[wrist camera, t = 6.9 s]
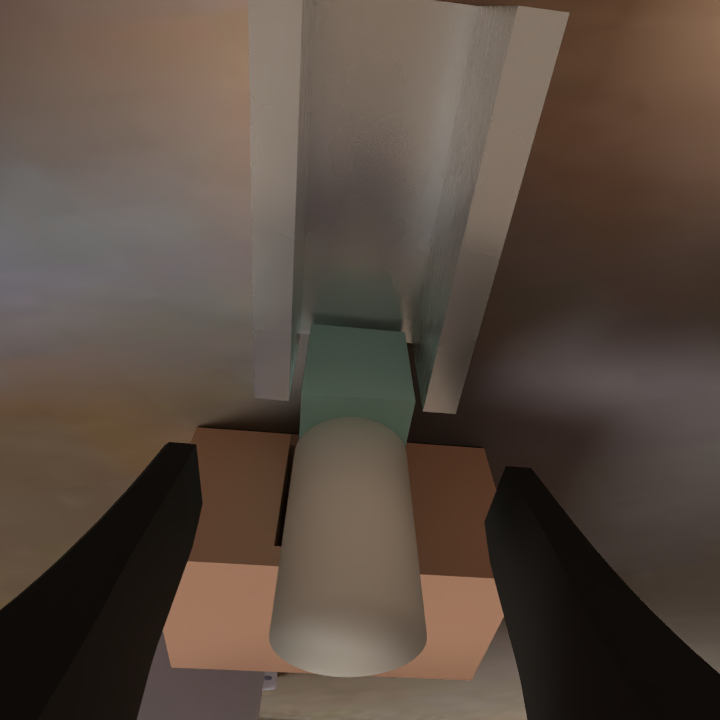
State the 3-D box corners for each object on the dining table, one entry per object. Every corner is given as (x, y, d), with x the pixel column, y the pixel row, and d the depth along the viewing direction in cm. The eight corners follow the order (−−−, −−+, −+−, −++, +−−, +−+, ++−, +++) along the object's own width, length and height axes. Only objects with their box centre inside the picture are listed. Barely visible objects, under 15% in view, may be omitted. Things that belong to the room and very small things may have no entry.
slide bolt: (373, 515, 19) (382, 764, 12) (297, 510, 18) (268, 761, 12) (408, 331, 14) (448, 581, 8) (307, 322, 14) (269, 571, 8)
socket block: (449, 550, 21) (471, 680, 17) (208, 536, 21) (171, 667, 16) (483, 448, 18) (522, 580, 14) (196, 427, 17) (146, 558, 13)
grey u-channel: (436, 334, 15) (455, 414, 12) (274, 320, 15) (254, 398, 12) (510, 10, 11) (569, 12, 8) (279, -20, 10) (247, -31, 7)
